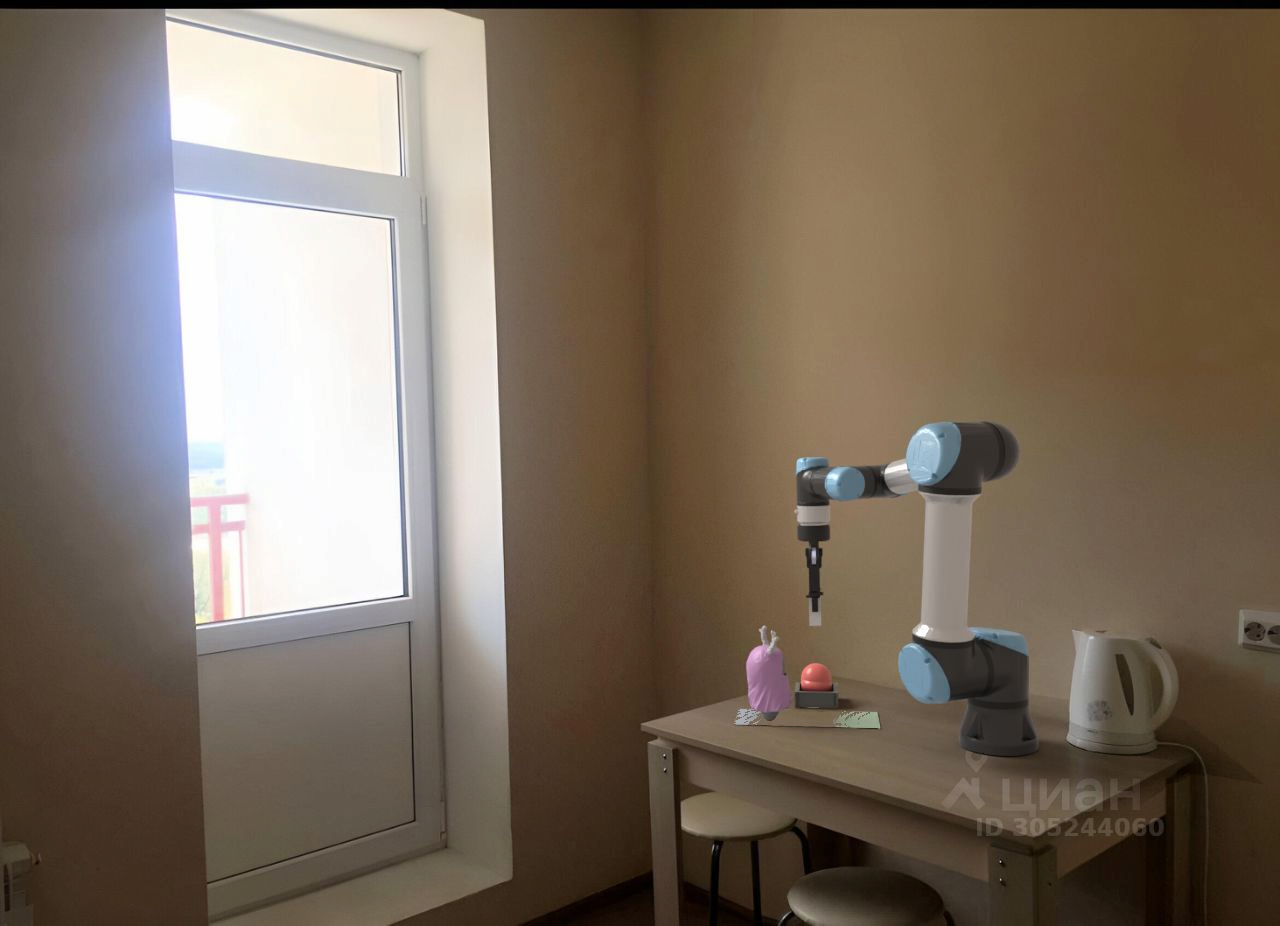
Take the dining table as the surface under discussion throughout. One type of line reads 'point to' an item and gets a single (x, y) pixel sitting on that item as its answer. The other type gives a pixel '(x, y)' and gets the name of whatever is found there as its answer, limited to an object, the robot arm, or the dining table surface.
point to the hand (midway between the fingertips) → (815, 624)
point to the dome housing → (816, 697)
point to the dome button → (816, 678)
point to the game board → (864, 722)
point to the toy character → (768, 678)
